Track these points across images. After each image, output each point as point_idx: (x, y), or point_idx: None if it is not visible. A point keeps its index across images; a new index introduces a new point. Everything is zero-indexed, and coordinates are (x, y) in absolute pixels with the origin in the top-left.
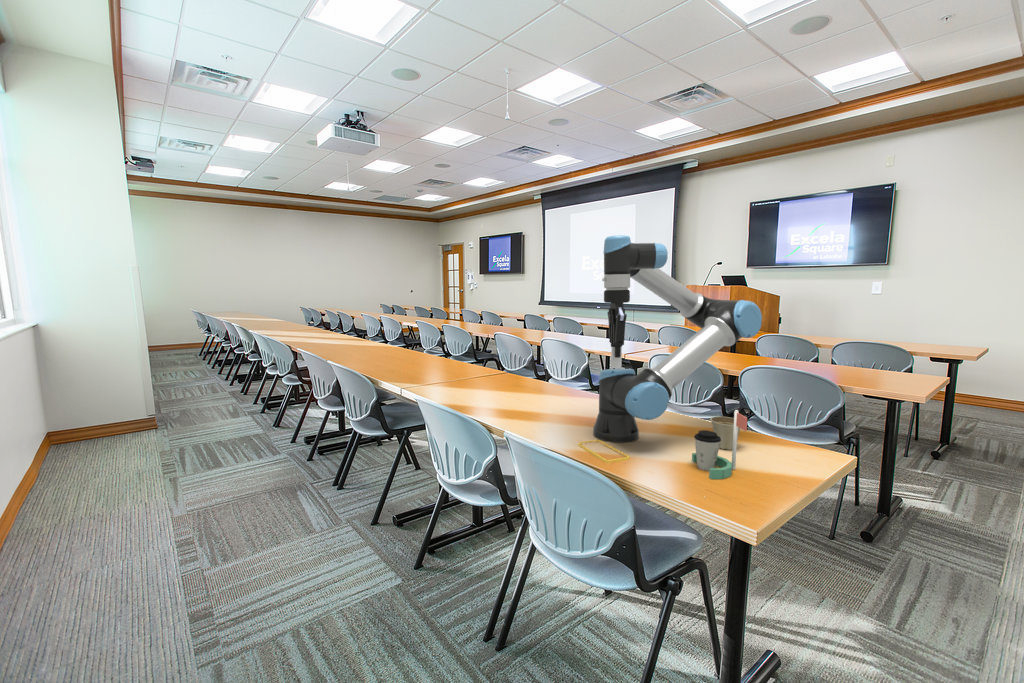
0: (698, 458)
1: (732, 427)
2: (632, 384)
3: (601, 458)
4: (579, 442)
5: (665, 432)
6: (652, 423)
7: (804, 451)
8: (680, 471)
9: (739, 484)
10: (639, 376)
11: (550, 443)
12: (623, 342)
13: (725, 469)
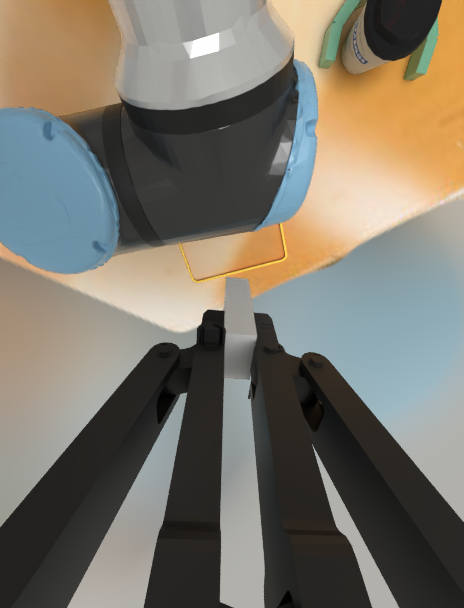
0: (369, 69)
1: None
2: (244, 211)
3: (271, 263)
4: (193, 280)
5: (101, 16)
6: (11, 16)
7: None
8: (356, 131)
9: (459, 20)
10: (222, 171)
11: (183, 321)
12: (333, 370)
13: (437, 28)
